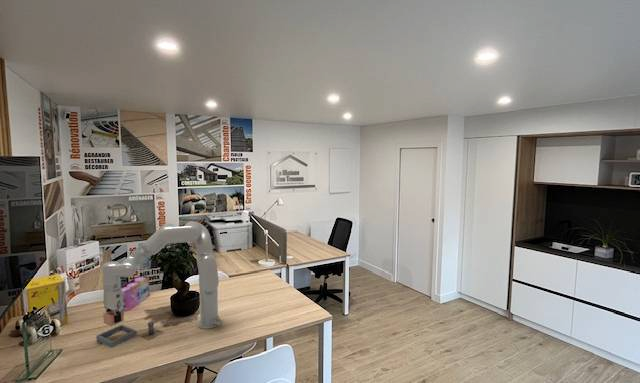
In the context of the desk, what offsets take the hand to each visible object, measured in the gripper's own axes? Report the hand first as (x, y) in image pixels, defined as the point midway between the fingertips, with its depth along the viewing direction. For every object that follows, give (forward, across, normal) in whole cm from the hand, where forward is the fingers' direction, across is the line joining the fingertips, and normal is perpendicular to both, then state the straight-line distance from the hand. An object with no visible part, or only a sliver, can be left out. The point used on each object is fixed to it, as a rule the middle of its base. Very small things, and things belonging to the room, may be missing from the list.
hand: (113, 319), depth 170 cm
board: (+11, -12, -12) cm, 20 cm away
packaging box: (+12, +49, +9) cm, 52 cm away
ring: (+1, 0, 0) cm, 1 cm away
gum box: (+11, +34, -32) cm, 48 cm away
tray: (+11, 0, -1) cm, 11 cm away
